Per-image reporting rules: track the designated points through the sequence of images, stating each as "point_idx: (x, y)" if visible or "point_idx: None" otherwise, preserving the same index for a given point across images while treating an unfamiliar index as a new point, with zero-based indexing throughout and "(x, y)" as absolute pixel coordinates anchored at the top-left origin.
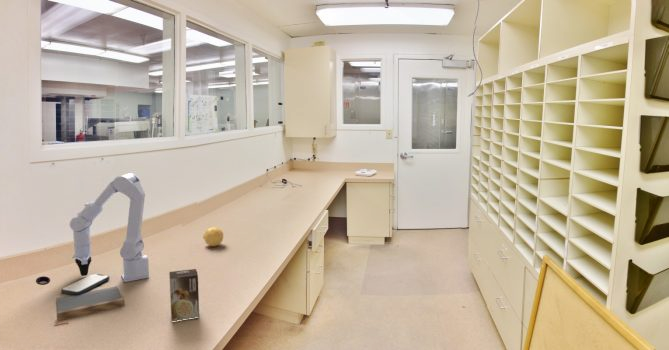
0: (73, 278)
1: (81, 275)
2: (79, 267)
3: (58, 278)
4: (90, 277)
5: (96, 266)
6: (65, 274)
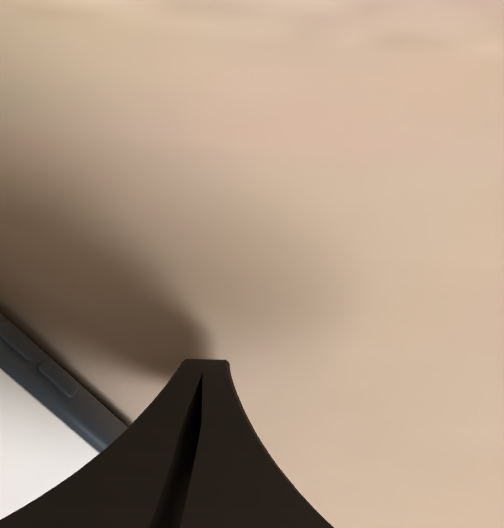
0: (237, 260)
1: (182, 364)
2: (97, 462)
3: (359, 77)
4: (9, 449)
5: (478, 492)
6: (461, 183)
